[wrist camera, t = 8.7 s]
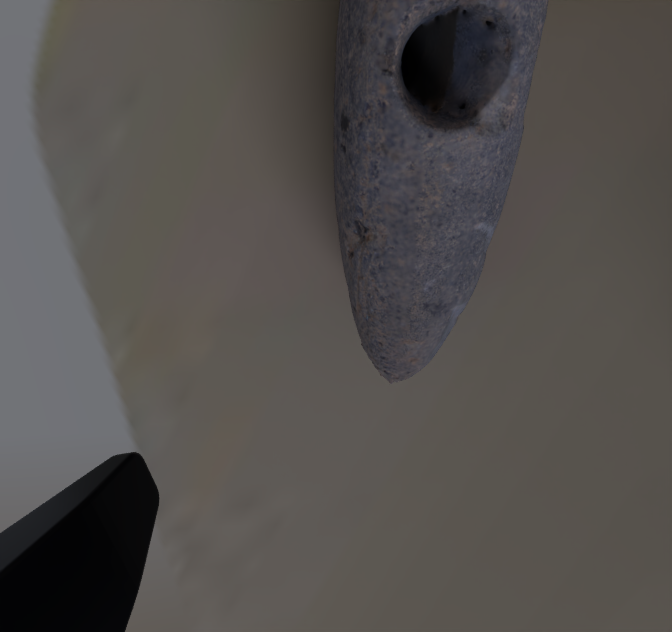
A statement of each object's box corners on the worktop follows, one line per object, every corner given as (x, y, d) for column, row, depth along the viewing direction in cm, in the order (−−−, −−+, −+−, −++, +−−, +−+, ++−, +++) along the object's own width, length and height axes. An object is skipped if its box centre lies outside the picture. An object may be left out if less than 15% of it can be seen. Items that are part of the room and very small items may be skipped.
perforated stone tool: (451, 342, 22) (483, 450, 16) (322, 331, 22) (303, 433, 16) (533, -111, 16) (640, -233, 10) (354, -124, 16) (344, -253, 10)
